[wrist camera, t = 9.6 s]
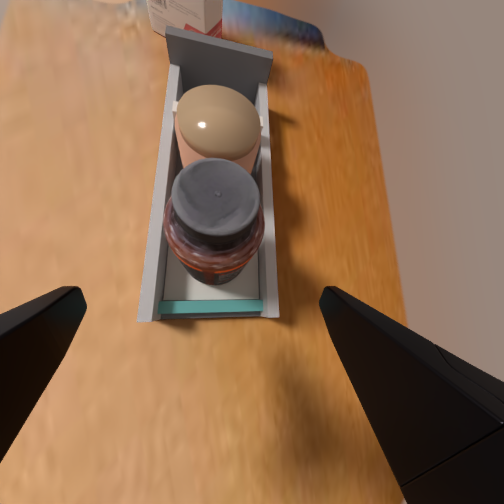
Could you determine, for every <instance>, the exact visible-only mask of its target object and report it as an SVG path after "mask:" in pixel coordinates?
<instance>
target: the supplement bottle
mask: <svg viewBox="0 0 504 504" xmlns="http://www.w3.org/2000/svg"><path fill="white" fill-rule="evenodd" d="M163 226H164V232H165V236H166V239H167V241H168V243H169V245H170V247H171V249H172V250H173V252H174V253H175V255H176V256H177V258H178V259H179V261H180V262H181V264H182V265H183V266H184V267H185V269H186V270H187V272H188V273H189V274H190V275H191V276H192V277H193V278H194V279H196V280H197V281H199V282H201V283H203V284H207V285H222V284H225V283H228V282H230V281H231V280H233V279H234V278H235V277H237V276H238V275H239V274H240V272H241V271H242V270H243V268H244V267H245V266H246V265H247V263H248V262H249V261H250V259H251V258H252V257H253V255H254V254H255V253H256V251H257V250H258V248H259V246H260V244H261V242H262V239H263V235H264V231H265V218H264V213H263V210H262V208H261V205H260V192H259V189H258V186H257V184H256V182H255V180H254V179H253V177H252V176H251V175H250V173H248V172H247V170H245V169H244V168H243V167H241V166H240V165H238V164H236V163H234V162H232V161H229V160H225V159H221V158H204V159H200V160H197V161H194V162H193V163H191V164H189V165H188V166H186V167H185V168H184V169H182V170H181V171H180V173H179V174H178V175H177V177H176V178H175V180H174V183H173V186H172V190H171V197H170V199H169V201H168V203H167V205H166V208H165V211H164V216H163Z"/></svg>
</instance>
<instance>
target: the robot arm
mask: <svg viewBox="0 0 504 504" xmlns="http://www.w3.org/2000/svg"><path fill="white" fill-rule="evenodd" d="M319 306H320V309H321V312H322V315H323V318H324V320H325V323H326V326H327V329H328V332H329V335H330V337H331V340H332V342H333V344H334V347H335V349H336V351H337V353H338V355H339V357H340V360H341V362H342V364H343V366H344V368H345V370H346V372H347V375H348V377H349V379H350V381H351V383H352V385H353V388H354V390H355V392H356V394H357V396H358V398H359V401H360V403H361V405H362V407H363V409H364V411H365V413H366V416H367V418H368V420H369V422H370V424H371V426H372V429H373V431H374V433H375V435H376V437H377V439H378V441H379V444H380V446H381V448H382V450H383V452H384V454H385V457H386V459H387V461H388V463H389V465H390V467H391V470H392V472H393V474H394V476H395V478H396V480H397V482H398V485H399V486H400V489H401V491H402V494H403V496H404V498H405V500H406V502H407V504H504V382H502V381H501V380H499V379H497V378H495V377H493V376H491V375H489V374H488V373H486V372H483V371H482V370H480V369H478V368H476V367H475V366H473V365H471V364H469V363H467V362H466V361H464V360H462V359H460V358H459V357H457V356H455V355H453V354H452V353H450V352H448V351H446V350H445V349H443V348H441V347H439V346H438V345H436V344H433V343H432V342H431V341H429V340H427V339H426V338H424V337H422V336H420V335H418V334H417V333H415V332H414V331H412V330H410V329H408V328H407V327H405V326H403V325H401V324H400V323H398V322H396V321H395V320H393V319H391V318H389V317H388V316H386V315H384V314H383V313H381V312H379V311H377V310H376V309H374V308H372V307H370V306H369V305H367V304H365V303H364V302H362V301H360V300H358V299H357V298H355V297H353V296H352V295H350V294H348V293H346V292H345V291H343V290H341V289H339V288H338V287H336V286H326V287H325V288H324V290H323V292H322V295H321V298H320V300H319ZM86 309H87V304H86V301H85V298H84V296H83V293H82V291H81V288H79V287H78V286H63V287H60V288H58V289H55V290H53V291H51V292H49V293H47V294H44V295H42V296H40V297H38V298H36V299H33V300H31V301H29V302H27V303H25V304H22V305H20V306H18V307H16V308H13V309H11V310H9V311H7V312H5V313H2V314H0V463H1V461H2V460H3V458H4V456H5V455H6V453H7V451H8V450H9V448H10V446H11V445H12V443H13V441H14V440H15V438H16V436H17V435H18V433H19V431H20V430H21V428H22V426H23V425H24V423H25V421H26V420H27V418H28V416H29V415H30V413H31V412H32V410H33V408H34V407H35V405H36V403H37V402H38V400H39V398H40V397H41V395H42V393H43V392H44V390H45V388H46V387H47V385H48V383H49V382H50V380H51V378H52V377H53V375H54V373H55V372H56V370H57V368H58V367H59V365H60V363H61V362H62V360H63V358H64V356H65V354H66V352H67V351H68V349H69V346H70V344H71V342H72V340H73V338H74V336H75V334H76V332H77V329H78V327H79V325H80V323H81V321H82V319H83V317H84V315H85V313H86Z"/></svg>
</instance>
